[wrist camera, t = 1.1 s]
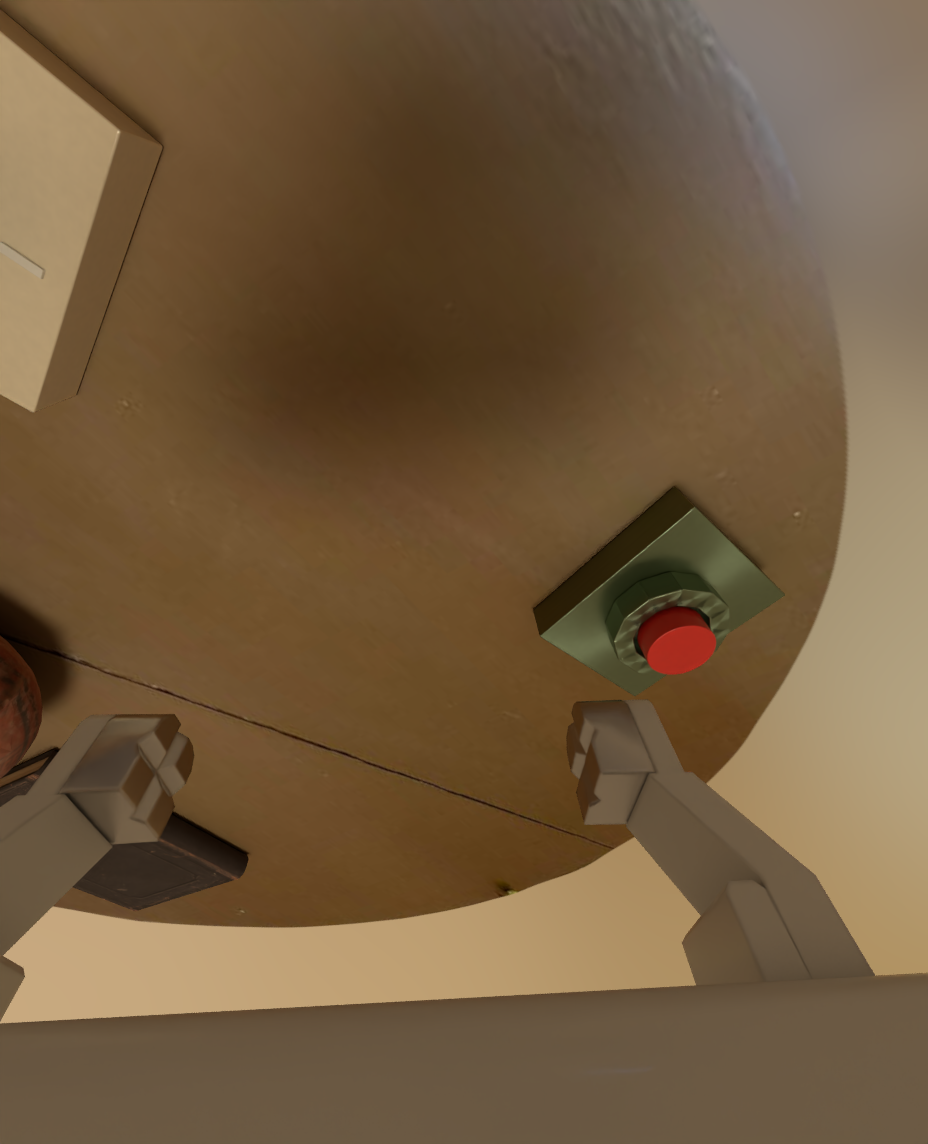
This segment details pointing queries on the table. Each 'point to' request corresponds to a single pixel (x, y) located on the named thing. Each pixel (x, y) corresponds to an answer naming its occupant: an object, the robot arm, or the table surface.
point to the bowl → (17, 707)
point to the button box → (652, 590)
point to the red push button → (676, 640)
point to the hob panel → (59, 216)
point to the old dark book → (144, 855)
